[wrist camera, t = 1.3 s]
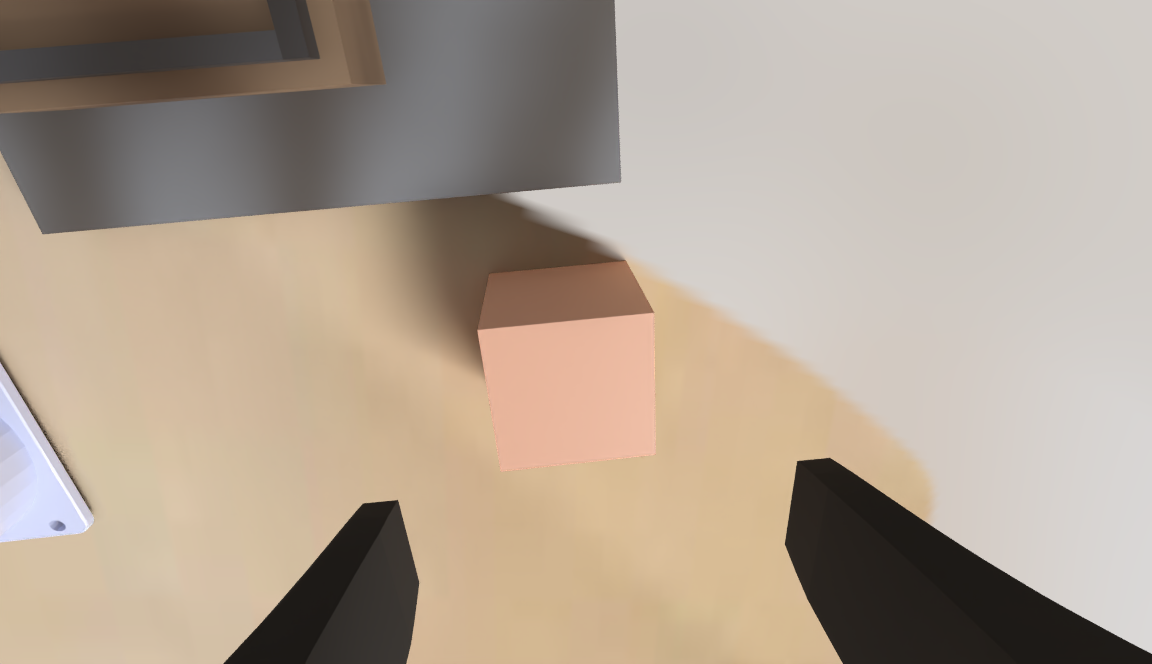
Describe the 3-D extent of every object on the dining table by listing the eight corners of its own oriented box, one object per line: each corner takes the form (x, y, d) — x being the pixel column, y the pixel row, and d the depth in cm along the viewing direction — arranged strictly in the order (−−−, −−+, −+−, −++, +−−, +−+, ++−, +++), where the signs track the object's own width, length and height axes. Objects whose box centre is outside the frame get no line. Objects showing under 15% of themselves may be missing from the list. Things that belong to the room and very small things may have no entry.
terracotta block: (506, 390, 19) (500, 471, 15) (489, 272, 17) (477, 330, 13) (629, 377, 20) (655, 454, 16) (625, 260, 18) (654, 312, 14)
